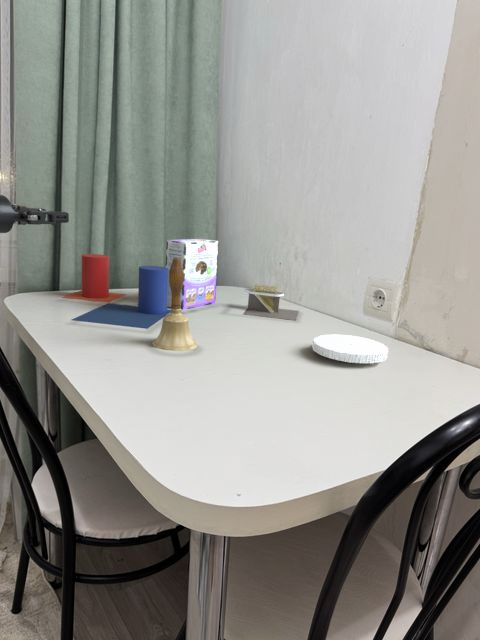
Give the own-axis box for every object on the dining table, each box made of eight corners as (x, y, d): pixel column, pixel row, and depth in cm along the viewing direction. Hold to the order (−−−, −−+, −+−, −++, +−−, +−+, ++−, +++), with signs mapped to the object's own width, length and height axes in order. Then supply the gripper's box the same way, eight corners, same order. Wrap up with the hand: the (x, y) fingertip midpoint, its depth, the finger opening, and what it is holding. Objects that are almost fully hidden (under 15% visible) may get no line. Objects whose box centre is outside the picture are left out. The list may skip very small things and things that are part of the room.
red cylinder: (77, 296, 124) (76, 255, 122) (88, 292, 130) (88, 253, 128) (102, 299, 124) (102, 258, 121) (112, 295, 130) (112, 255, 127)
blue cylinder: (134, 312, 113) (134, 267, 111) (143, 307, 119) (144, 264, 117) (161, 315, 113) (163, 270, 110) (169, 310, 119) (171, 267, 116)
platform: (295, 320, 122) (298, 293, 120) (223, 311, 124) (224, 285, 122) (299, 310, 134) (301, 286, 132) (232, 303, 135) (234, 278, 134)
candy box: (197, 300, 134) (201, 238, 130) (215, 304, 132) (219, 240, 127) (163, 307, 123) (165, 238, 118) (182, 311, 120) (185, 241, 116)
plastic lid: (297, 354, 94) (298, 341, 93) (334, 342, 105) (336, 330, 104) (365, 374, 86) (367, 360, 86) (398, 359, 97) (400, 346, 96)
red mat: (60, 298, 122) (60, 297, 122) (83, 291, 133) (82, 289, 133) (108, 304, 121) (108, 302, 121) (127, 295, 133) (127, 294, 132)
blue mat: (70, 321, 102) (70, 319, 102) (108, 304, 121) (108, 303, 120) (147, 330, 101) (147, 328, 101) (173, 311, 119) (173, 310, 119)
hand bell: (158, 354, 87) (161, 260, 83) (146, 340, 94) (149, 254, 90) (204, 351, 91) (209, 262, 86) (189, 339, 98) (193, 256, 93)
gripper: (-35, 229, 105) (39, 229, 117) (1, 237, 97) (76, 236, 110) (-38, 191, 103) (37, 195, 115) (-1, 196, 95) (75, 200, 108)
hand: (56, 215), depth 113 cm, fingers open, 8 cm apart
